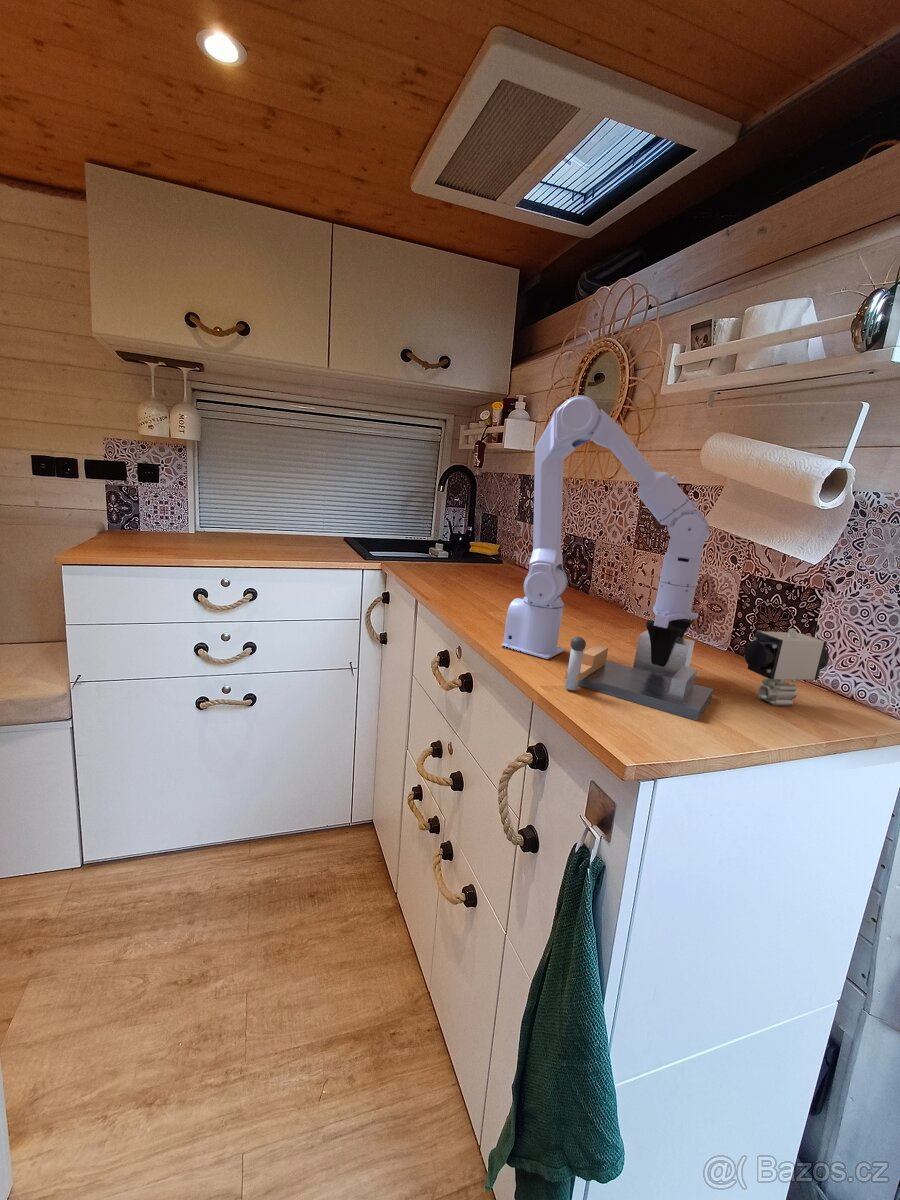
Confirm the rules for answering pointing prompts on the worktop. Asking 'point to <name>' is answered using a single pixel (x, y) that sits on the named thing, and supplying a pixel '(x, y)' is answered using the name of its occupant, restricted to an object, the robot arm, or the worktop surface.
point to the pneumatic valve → (785, 662)
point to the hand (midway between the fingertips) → (662, 661)
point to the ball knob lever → (583, 662)
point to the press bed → (652, 688)
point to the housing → (676, 660)
